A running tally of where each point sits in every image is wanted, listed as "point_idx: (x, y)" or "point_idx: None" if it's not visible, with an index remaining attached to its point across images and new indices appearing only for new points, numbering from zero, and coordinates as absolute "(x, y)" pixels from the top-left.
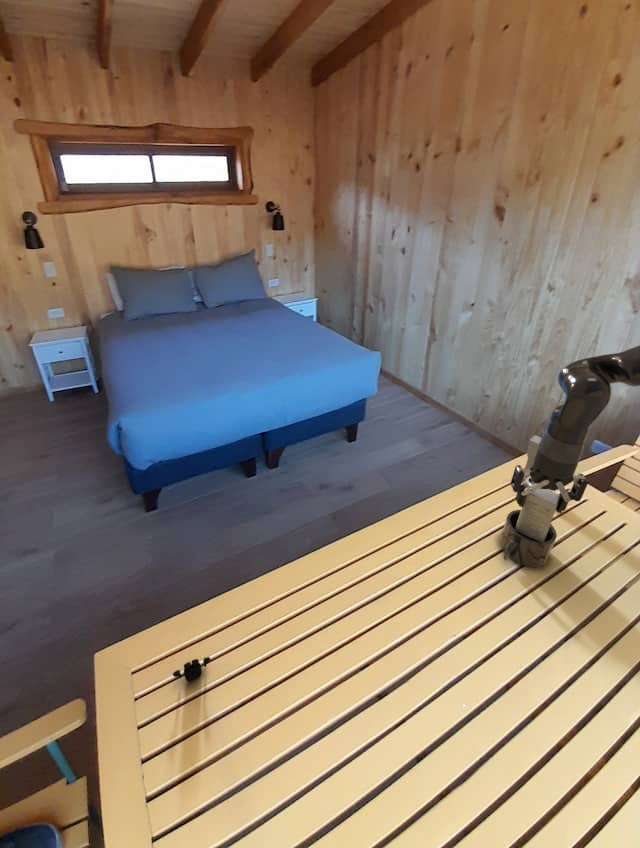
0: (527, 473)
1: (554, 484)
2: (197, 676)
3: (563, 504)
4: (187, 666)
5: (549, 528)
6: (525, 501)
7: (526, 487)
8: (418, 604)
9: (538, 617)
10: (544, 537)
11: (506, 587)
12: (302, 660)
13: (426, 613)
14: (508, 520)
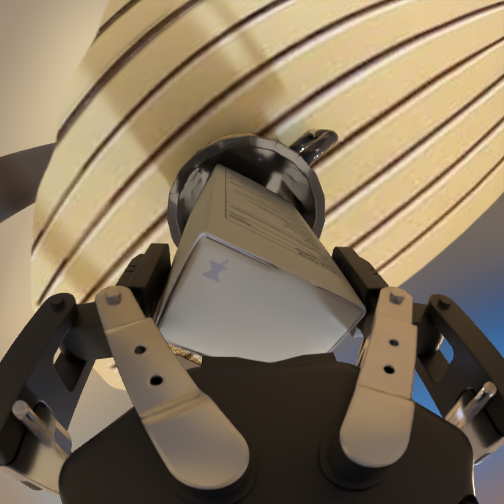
0: (473, 436)
1: (234, 423)
2: None
3: (139, 274)
4: None
5: (181, 227)
6: (339, 270)
7: (189, 366)
8: (467, 52)
9: (268, 9)
10: (218, 168)
11: (319, 68)
12: None
13: (458, 36)
14: (318, 229)
